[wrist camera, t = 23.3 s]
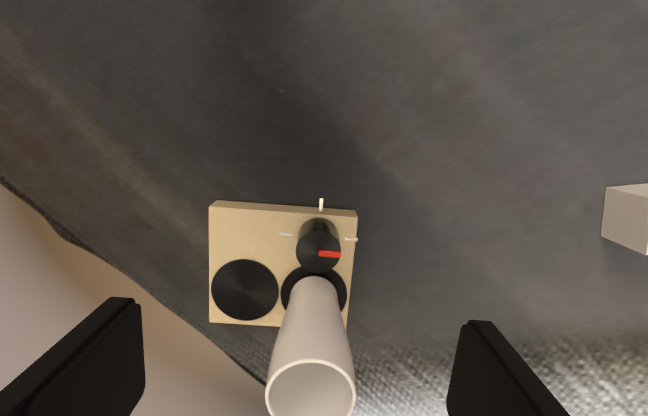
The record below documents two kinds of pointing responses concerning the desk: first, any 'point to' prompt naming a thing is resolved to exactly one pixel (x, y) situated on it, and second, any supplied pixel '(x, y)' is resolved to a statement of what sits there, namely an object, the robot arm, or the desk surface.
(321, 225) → the hob knob
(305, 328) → the drinking glass
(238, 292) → the burner
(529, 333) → the desk surface
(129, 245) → the desk surface
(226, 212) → the hot plate
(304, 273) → the burner
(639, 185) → the white cube
